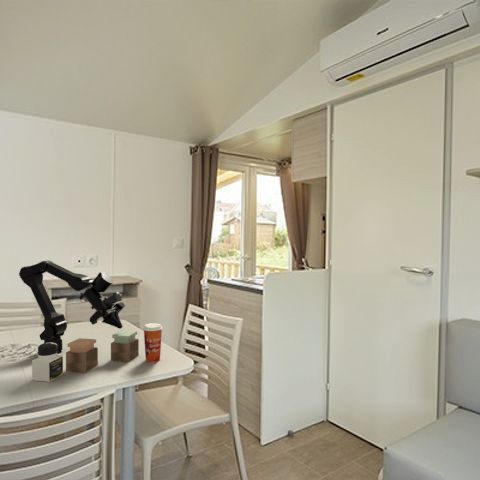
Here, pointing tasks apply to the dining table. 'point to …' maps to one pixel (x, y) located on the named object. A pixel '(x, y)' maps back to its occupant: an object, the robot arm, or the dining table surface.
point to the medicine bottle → (47, 363)
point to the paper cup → (152, 341)
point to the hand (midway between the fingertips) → (121, 327)
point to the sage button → (124, 337)
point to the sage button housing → (124, 351)
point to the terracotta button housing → (81, 361)
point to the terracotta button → (81, 345)
